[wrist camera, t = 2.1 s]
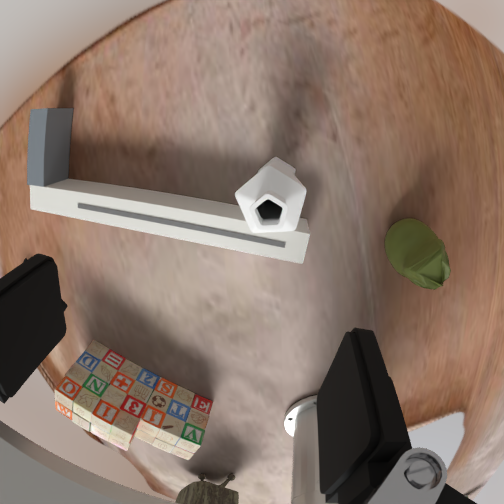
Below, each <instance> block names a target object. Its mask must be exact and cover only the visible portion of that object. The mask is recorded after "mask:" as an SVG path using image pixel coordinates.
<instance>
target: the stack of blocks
mask: <svg viewBox="0 0 504 504" xmlns="http://www.w3.org/2000/svg"><path fill="white" fill-rule="evenodd" d="M212 403H213V401H211V400H208V399H206V398H204V397H201V396H199V395H197V394H195V393H193V392H191V391H189V390H187V389H185V388H183V387H180V386H178V385H176V384H174V383H172V382H170V381H168V380H166V379H164V378H162V377H159V376H158V375H156V374H154V373H152V372H150V371H148V370H146V369H144V368H142V367H140V366H138V365H136V364H134V363H133V362H131V361H129V360H127V359H126V358H124V357H122V356H121V355H119V354H117V353H115V352H114V351H112V350H110V349H109V348H107V347H105V346H104V345H102V344H100V343H99V342H97V341H95V340H93V341H92V342H91V344H90V345H89V346H88V347H87V349H86V350H85V351H84V353H83V354H82V355H81V356H80V357H79V359H78V360H77V361H76V362H75V363H74V364H73V365H72V366H71V368H70V369H69V370H68V371H67V373H66V374H65V377H64V378H63V379H62V381H61V382H60V383H59V384H58V386H57V387H56V388H55V406H56V410H57V411H59V412H60V413H62V414H63V415H65V416H66V417H68V418H69V419H71V420H73V422H74V423H75V424H77V425H79V426H80V427H82V428H84V429H85V430H87V431H90V432H91V433H93V434H95V435H97V436H98V437H100V438H102V439H104V440H106V441H109V442H110V443H112V444H114V445H116V446H118V447H120V448H122V449H124V450H126V451H127V450H128V448H129V446H130V444H131V442H132V440H133V438H134V437H136V438H138V439H140V440H142V441H144V442H146V443H149V444H151V445H152V446H155V447H157V448H159V449H162V450H164V451H166V452H168V453H171V454H174V455H176V456H178V457H181V458H183V459H186V460H189V459H190V458H191V457H192V456H193V455H194V453H195V452H196V451H197V450H198V448H199V447H200V446H201V444H202V440H203V436H204V433H205V428H206V425H207V421H208V418H209V413H210V410H211V407H212Z"/></svg>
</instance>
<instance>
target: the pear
mask: <svg viewBox="0 0 504 504" xmlns="http://www.w3.org/2000/svg"><path fill="white" fill-rule="evenodd" d="M385 251H386V254H387V257H388V259H389V261H390V263H391V264H392V266H393V267H394V269H395V270H396V271H397V272H398V273H399V274H401V275H402V276H404V277H407V278H408V279H409V280H410V281H411V282H413V283H414V284H416V285H418V286H420V287H423V288H427V289H434V290H435V289H437V288H438V287H440V286H443V285H442V284H443V282H444V281H445V280H446V279H448V278H449V275H450V272H451V270H450V267H449V260H448V256H447V253H446V251H445V245H444V243H443V241H442V240H440V239H438V237H437V236H436V234H435V233H434V232H433V231H432V230H431V229H430V228H429V227H428V226H427V225H425V224H424V223H423V222H421V221H419V220H417V219H413V218H406V219H402V220H400V221H398V222H396V223H395V224H393V225H392V226H391V228H390V229H389V230H388V232H387V234H386V237H385Z"/></svg>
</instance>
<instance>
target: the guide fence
mask: <svg viewBox="0 0 504 504" xmlns="http://www.w3.org/2000/svg"><path fill="white" fill-rule="evenodd" d="M73 109H74V108H46V109H32V110H31V113H30V123H29V137H28V161H27V185H30V204H31V209H33V210H38V211H43V212H47V213H52V214H57V215H62V216H67V217H72V218H77V219H82V220H87V221H92V222H97V223H102V224H106V225H111V226H116V227H121V228H126V229H131V230H136V231H141V232H146V233H151V234H156V235H161V236H166V237H171V238H176V239H181V240H186V241H191V242H195V243H200V244H205V245H210V246H215V247H220V248H225V249H230V250H235V251H240V252H245V253H250V254H255V255H260V256H265V257H270V258H275V259H280V260H285V261H290V262H295V263H300V264H303V261H304V257H305V253H306V249H307V245H308V241H309V237H310V231H309V226H308V222H307V219H304V218H299V221H298V224H297V228H296V230H294V231H286V232H266V233H253V232H251V230H250V228H249V226H248V224H247V222H246V219H245V217H244V215H243V213H242V210H241V208H240V206H239V205H233V204H228V203H223V202H217V201H211V200H206V199H200V198H194V197H189V196H183V195H177V194H171V193H165V192H158V191H152V190H146V189H139V188H133V187H126V186H119V185H112V184H105V183H98V182H91V181H83V180H75V179H68V175H69V153H70V138H71V127H72V117H73Z"/></svg>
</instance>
